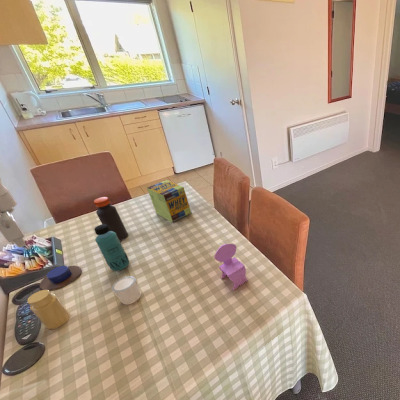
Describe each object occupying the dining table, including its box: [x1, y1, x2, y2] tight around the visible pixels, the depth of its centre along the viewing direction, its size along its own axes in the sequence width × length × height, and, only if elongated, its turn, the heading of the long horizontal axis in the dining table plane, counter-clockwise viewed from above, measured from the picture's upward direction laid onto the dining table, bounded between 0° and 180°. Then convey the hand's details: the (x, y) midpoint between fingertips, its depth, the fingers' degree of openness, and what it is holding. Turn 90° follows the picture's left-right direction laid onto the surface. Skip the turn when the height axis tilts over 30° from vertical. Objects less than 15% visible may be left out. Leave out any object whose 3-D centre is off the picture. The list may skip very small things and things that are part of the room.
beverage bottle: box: [94, 223, 130, 272], centre depth 99 cm, size 6×7×20 cm
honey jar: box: [26, 289, 71, 330], centre depth 81 cm, size 6×6×12 cm
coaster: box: [39, 265, 83, 292], centre depth 100 cm, size 12×12×1 cm
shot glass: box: [111, 275, 142, 306], centre depth 90 cm, size 7×7×7 cm
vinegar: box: [93, 196, 129, 242], centre depth 116 cm, size 7×7×20 cm
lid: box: [46, 265, 72, 283], centre depth 99 cm, size 6×6×3 cm
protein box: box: [146, 179, 192, 223], centre depth 134 cm, size 10×15×16 cm
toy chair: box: [214, 243, 248, 291], centre depth 94 cm, size 8×9×15 cm
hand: (19, 240), depth 87 cm, fingers open, 8 cm apart
